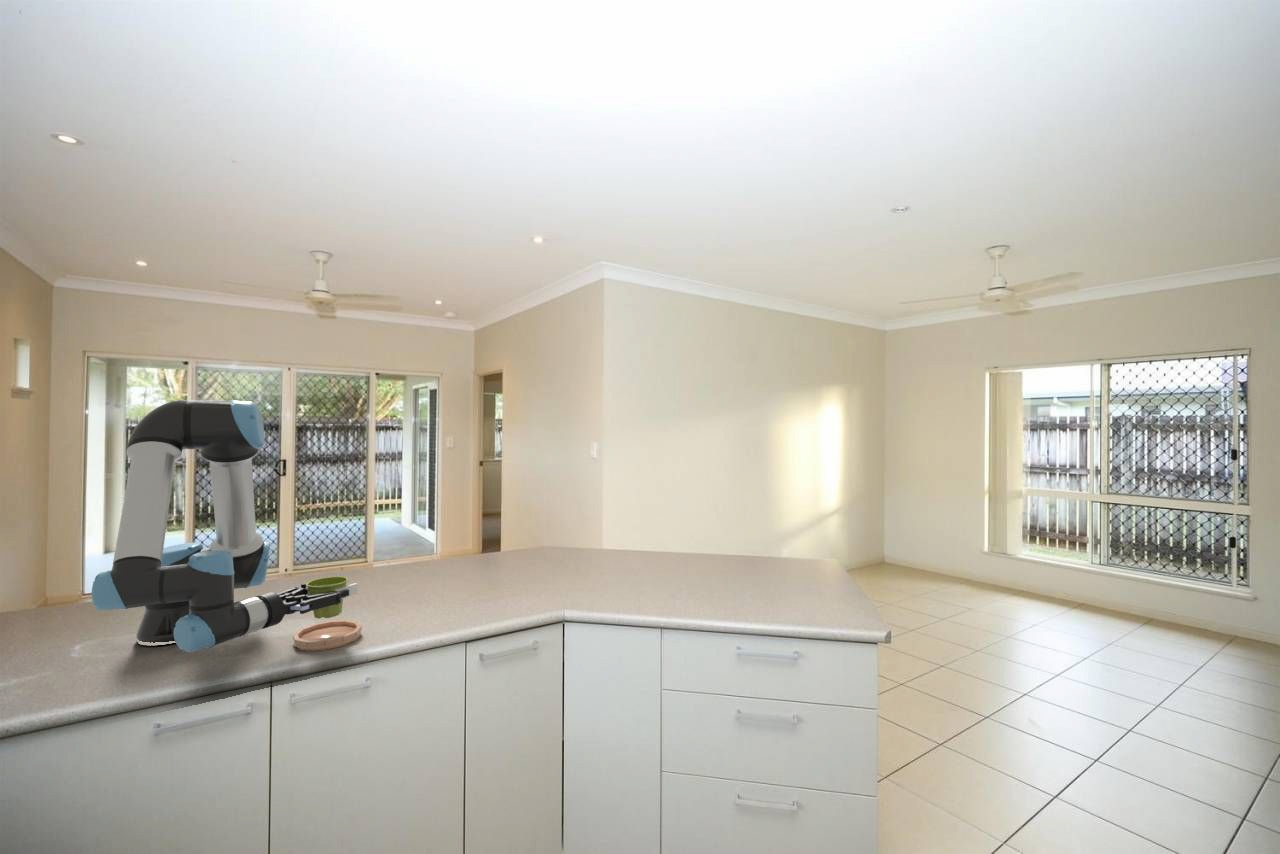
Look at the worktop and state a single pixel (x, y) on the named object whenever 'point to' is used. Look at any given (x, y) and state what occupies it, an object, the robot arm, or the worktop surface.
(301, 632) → the saucer
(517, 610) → the worktop surface
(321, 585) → the plant pot
